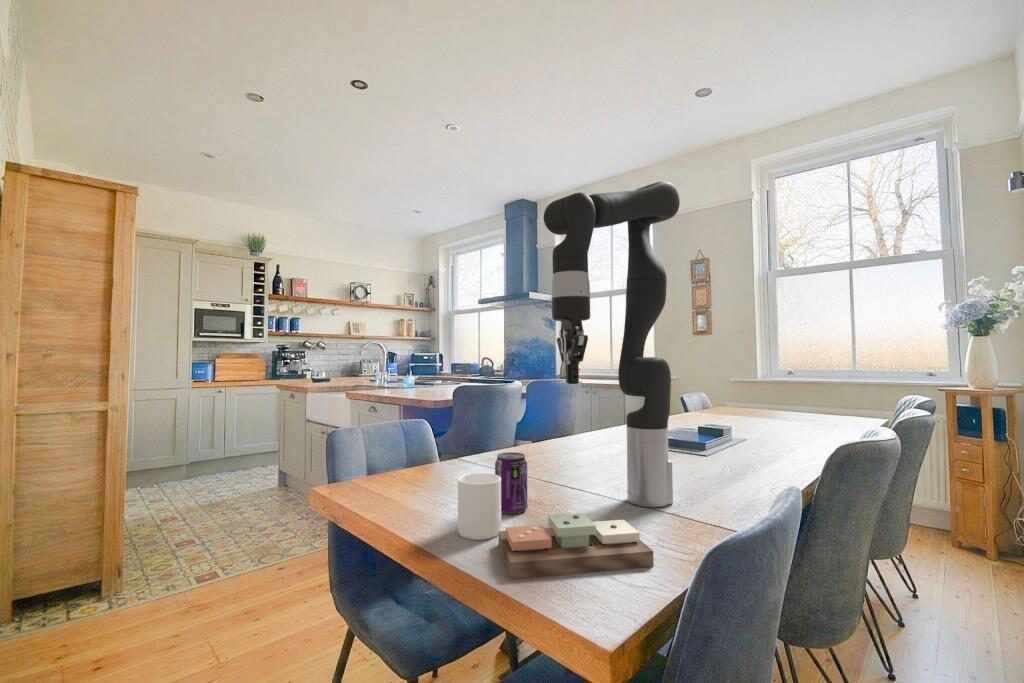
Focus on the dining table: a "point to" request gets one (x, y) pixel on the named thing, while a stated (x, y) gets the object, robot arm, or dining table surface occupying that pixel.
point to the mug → (479, 506)
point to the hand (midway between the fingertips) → (572, 383)
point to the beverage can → (512, 481)
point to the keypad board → (574, 558)
